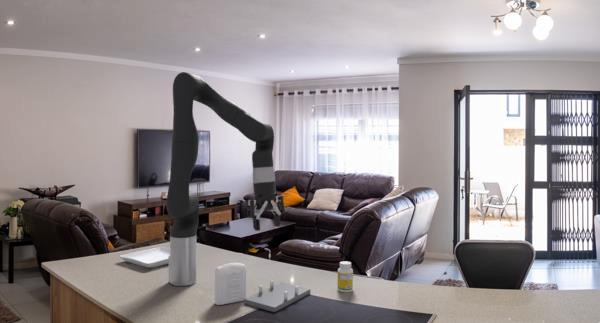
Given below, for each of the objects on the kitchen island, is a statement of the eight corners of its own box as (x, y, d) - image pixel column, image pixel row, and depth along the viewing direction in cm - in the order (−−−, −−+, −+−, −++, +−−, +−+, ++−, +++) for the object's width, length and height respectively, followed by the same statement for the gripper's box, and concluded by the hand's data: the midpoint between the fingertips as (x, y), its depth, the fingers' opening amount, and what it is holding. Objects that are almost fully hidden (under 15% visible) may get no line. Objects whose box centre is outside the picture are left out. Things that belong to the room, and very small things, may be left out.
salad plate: (160, 253, 199) (160, 245, 199) (190, 260, 186) (190, 252, 186) (118, 263, 182) (118, 255, 182) (148, 272, 169) (148, 263, 169)
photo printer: (242, 296, 142) (242, 259, 142) (247, 300, 139) (248, 262, 138) (212, 302, 137) (212, 264, 136) (218, 306, 133) (218, 267, 133)
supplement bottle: (350, 293, 146) (350, 265, 146) (335, 291, 148) (335, 263, 148) (354, 288, 151) (354, 261, 151) (339, 286, 153) (340, 259, 153)
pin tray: (244, 303, 136) (244, 291, 136) (281, 286, 152) (282, 275, 152) (274, 312, 129) (274, 299, 129) (310, 293, 146) (310, 281, 146)
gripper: (273, 179, 153) (276, 224, 153) (240, 182, 143) (243, 231, 143) (287, 178, 147) (290, 225, 147) (253, 182, 138) (257, 232, 138)
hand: (267, 228), depth 145 cm, fingers open, 8 cm apart
